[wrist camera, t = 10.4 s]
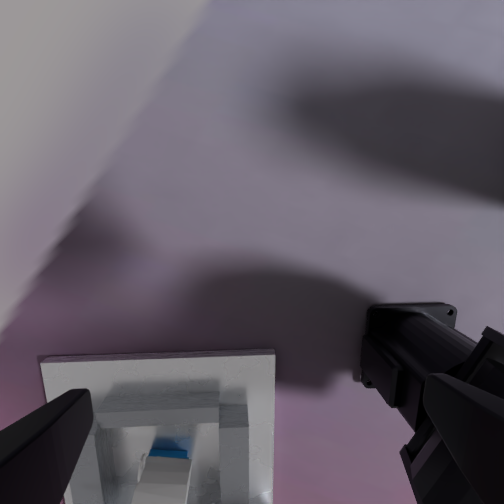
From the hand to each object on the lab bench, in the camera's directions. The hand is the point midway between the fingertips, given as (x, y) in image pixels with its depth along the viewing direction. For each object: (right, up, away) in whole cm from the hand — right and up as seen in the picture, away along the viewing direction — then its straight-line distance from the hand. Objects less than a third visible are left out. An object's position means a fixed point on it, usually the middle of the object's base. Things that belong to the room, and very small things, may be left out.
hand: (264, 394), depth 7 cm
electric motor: (-7, -12, +14) cm, 20 cm away
